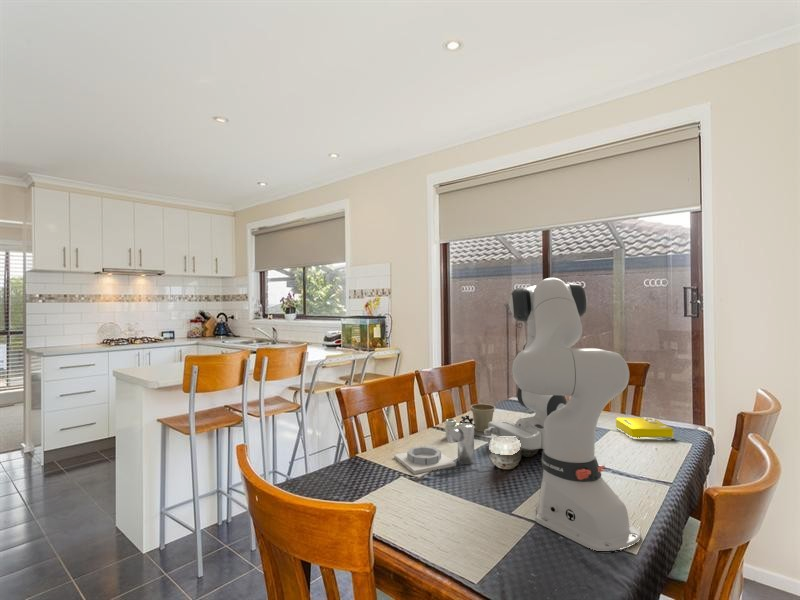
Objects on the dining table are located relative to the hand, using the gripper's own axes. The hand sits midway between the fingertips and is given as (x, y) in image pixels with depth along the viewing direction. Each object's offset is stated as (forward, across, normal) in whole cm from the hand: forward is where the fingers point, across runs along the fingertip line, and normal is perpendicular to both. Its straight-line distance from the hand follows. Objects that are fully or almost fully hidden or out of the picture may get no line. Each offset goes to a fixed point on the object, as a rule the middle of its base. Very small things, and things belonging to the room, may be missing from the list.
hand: (494, 437), depth 139 cm
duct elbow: (+12, 0, +6) cm, 14 cm away
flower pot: (-13, -24, +6) cm, 28 cm away
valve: (0, -22, +6) cm, 23 cm away
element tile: (-64, +6, +7) cm, 65 cm away
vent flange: (+23, -5, +6) cm, 24 cm away
